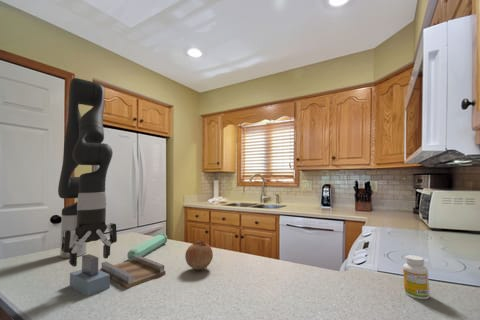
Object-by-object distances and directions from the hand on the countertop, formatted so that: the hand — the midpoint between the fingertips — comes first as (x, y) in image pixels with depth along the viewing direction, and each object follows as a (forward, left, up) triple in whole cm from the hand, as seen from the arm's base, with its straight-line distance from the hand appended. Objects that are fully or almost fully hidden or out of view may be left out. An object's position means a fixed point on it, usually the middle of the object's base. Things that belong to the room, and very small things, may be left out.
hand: (90, 261), depth 73 cm
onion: (+16, +29, -8) cm, 34 cm away
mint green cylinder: (-18, +29, -8) cm, 35 cm away
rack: (0, +13, -7) cm, 15 cm away
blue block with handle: (0, 0, -8) cm, 8 cm away
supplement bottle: (+76, +53, -8) cm, 93 cm away
